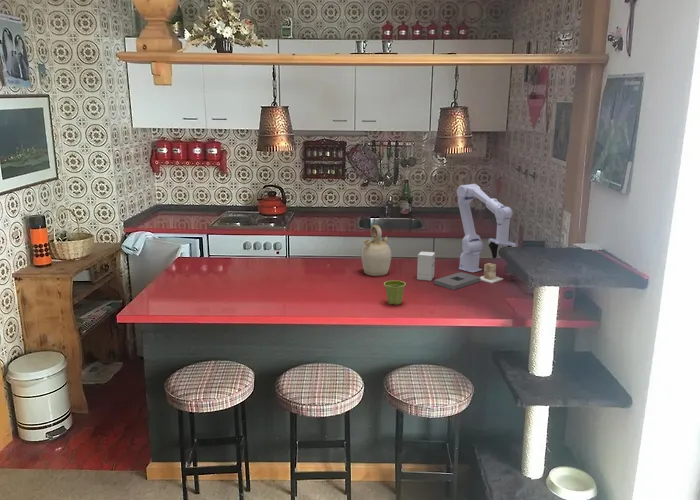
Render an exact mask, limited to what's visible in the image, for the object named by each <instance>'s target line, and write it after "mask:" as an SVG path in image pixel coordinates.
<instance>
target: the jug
mask: <svg viewBox="0 0 700 500" xmlns="http://www.w3.org/2000/svg"><path fill="white" fill-rule="evenodd" d="M376 233H377V234H376ZM382 235H383V233H382V229H381V227H380V226H379V225H378V224H373V225H372V226H371V228H370V236H371V238H372V240H371V239H370V238H366V239H364V240H363V246H362V249H361V253H360V258H361V264H362V268H363V273H364V274H366V275H368V276H372V277H379V276H380V277H382V276H385V275H387V274H388V273H389V269H390V265H391V262H392V261H391V260H392V249H391V248H390V246H389V244H387V242H388V236H385V237H384V238H382ZM381 238H382V240H381Z"/></svg>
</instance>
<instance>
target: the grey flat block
mask: <svg viewBox="0 0 700 500" xmlns="http://www.w3.org/2000/svg"><path fill="white" fill-rule="evenodd" d="M481 281H482V280H481V276H477V275H473V274H470V273H467V272H462V271H460V272H455V273H453V274H450V275H446V276H443V277H440V278H436V279H434V280H433V284H434V285H436V286H440V287H442V288H445V289H448V290H452V291H455V290H458V289H461V288H464V287H467V286H470V285H474V284H477V283H480V282H481Z"/></svg>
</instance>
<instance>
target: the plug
mask: <svg viewBox="0 0 700 500" xmlns="http://www.w3.org/2000/svg"><path fill="white" fill-rule="evenodd" d="M496 273H497V264H496V263H490V262H488V263H485V264H484V267H483V276H484V278H485V279H489V280H492V279H495V278H496V277H497V275H496Z"/></svg>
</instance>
